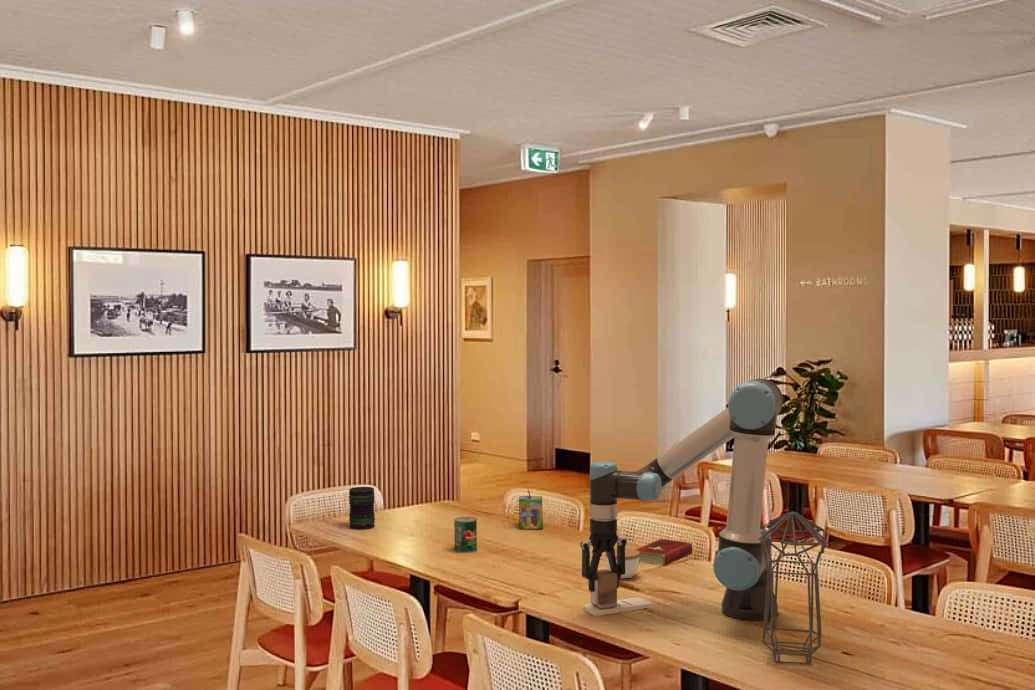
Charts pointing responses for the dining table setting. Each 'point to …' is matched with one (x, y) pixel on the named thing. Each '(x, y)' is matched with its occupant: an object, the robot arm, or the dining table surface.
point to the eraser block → (606, 589)
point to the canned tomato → (465, 534)
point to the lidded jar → (628, 562)
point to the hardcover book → (664, 551)
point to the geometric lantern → (770, 574)
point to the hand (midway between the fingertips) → (603, 601)
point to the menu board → (619, 606)
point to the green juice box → (530, 512)
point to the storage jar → (361, 508)
